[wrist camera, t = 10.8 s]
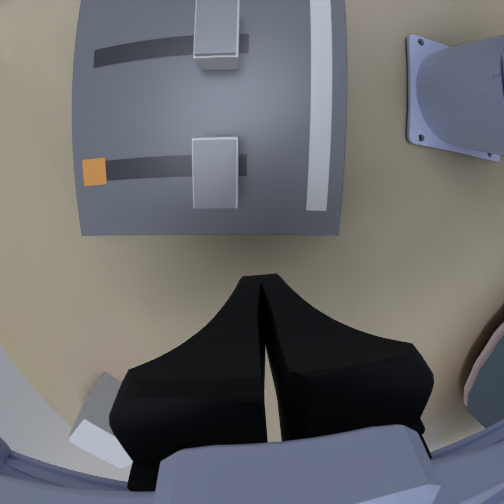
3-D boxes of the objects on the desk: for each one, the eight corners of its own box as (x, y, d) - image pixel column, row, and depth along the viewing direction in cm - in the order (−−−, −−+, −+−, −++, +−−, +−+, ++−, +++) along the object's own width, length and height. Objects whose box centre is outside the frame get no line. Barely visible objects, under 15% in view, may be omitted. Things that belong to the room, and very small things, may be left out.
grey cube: (105, 371, 25) (84, 418, 19) (159, 403, 26) (147, 452, 21) (85, 397, 26) (67, 440, 21) (133, 425, 28) (121, 469, 22)
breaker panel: (329, -65, 12) (350, -103, 7) (329, 225, 20) (356, 257, 15) (106, -54, 11) (77, -86, 6) (94, 226, 20) (56, 256, 15)
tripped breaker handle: (238, 136, 16) (237, 137, 12) (238, 194, 17) (237, 210, 14) (200, 136, 16) (190, 138, 12) (201, 195, 17) (192, 210, 14)
